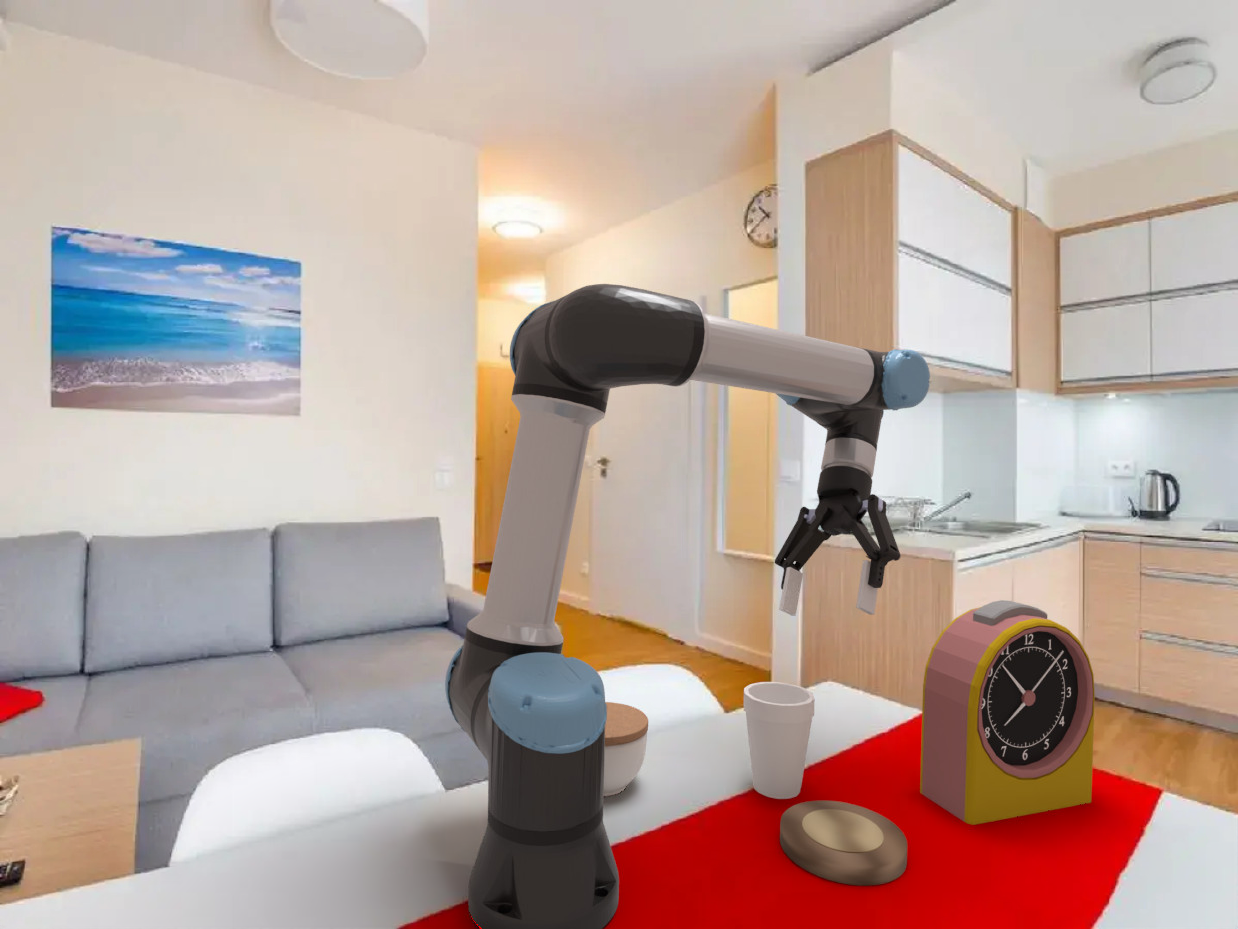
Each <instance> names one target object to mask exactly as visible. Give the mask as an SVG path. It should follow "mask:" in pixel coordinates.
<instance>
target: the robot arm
mask: <svg viewBox="0 0 1238 929" xmlns="http://www.w3.org/2000/svg"><path fill="white" fill-rule="evenodd" d="M509 362H510V367H511V370H512V373H513V374H514V376H515V377H514V381H513V382H514V383H513V387H512V391H511V392H512V393H511V396H510V399H511V401H512V403H513V405H514V406H515V407H516V409H517V411H518V412H519V414H520V418H519V423H518V428H517V431H516V432H517V434H516V438H515V442H514V443H515V444H514V448H513V453H512V459H511V464H510V470H509V475H508V479H507V485H506V490H505V496H504V500H503V501H504V502H503V505H502V510H501V515H500V516H501V517H500V521H499V527H498V532H497V537H496V542H495V545H494V546H495V548H494V552H493V558H492V564H491V568H490V573H489V578H488V583H487V589H486V593H485V599H484V603H483V609H482V611H481V612H480V613H478V614H477V615H476V616H474V617H473V618H471V619H470V620H468V621H467V624H466V629H465V633H464V639H463V643H462V646H461V647H458V649H457V650H456V651H455V652H454V654H453V656H452V658H451V659H450V662H449V664H448V667H447V671H446V674H445V680H444V685H445V686H444V689H445V696H446V700H447V703H448V705H449V709H450V711H451V715H452V716H453V719H454V720H455V722H456V723H457V724H458V725H459V726H460V728H461V729H462V730H463V732H465V733H466V735H468V737H469V738H470V740H471V741H472V742H473V743H474V745H475V746H476V748H477V749H478V751H480V753H481V754H482V755H483V757H484V758H485V759H486V761H487V767H488V776H487V778H488V780H487V782H488V783H487V784H488V785H487V786H488V787H487V790H488V791H487V792H488V793H487V794H488V795H487V824H486V828H485V831H484V834H483V837H482V840H481V843H480V845H479V849H478V852H477V855H476V857H475V860H474V863H473V866H472V870H471V873H470V876H469V880H468V899H467V900H468V901H467V902H468V903H467V904H468V906H469V907H468V913H469V912H470V913H469V915H470V914H471V916H472V918H473V920H474V921H475V922H476V924H478V926H480V927H481V928H482V929H603V928H605V927H606V925H607V924H609V922H610V921H611V920H612V918H613V917H614V915H615V914H616V911H617V909H618V905H619V900H620V899H619V894H620V887H619V885H620V877H619V870H618V867H617V864H616V860H615V857H614V853H613V850H612V847H611V844H610V840H609V837H608V832H607V830H606V827H605V823H604V797H603V793H604V755H605V725H606V719H607V706H606V703H605V702H606V692H605V685H604V682H603V679H602V677H601V675H600V674H599V673H598V671H597V670H596V669H595V668H594V667H593V666H591V665H590V664H589V663H587V662H585V661H583V660H581V659H578V658H576V657H573V656H570V657H565V654H562V650H563V645H564V636H563V635H562V633H561V632H560V630H559V628H558V627H557V626H556V623H555V617H556V612H557V607H558V603H559V602H558V601H559V596H560V592H561V585H562V580H563V576H564V571H565V570H564V569H565V565H566V558H567V553H568V549H569V543H570V537H571V532H572V526H573V522H574V517H575V511H576V505H577V501H578V500H577V499H578V495H579V489H580V486H581V485H580V484H581V479H582V473H583V468H584V463H585V458H586V453H587V452H586V451H587V447H588V440H589V435H590V430H591V429H592V427H593V426H595V425H596V424H598V423H599V422H600V421H601V420H603V419H604V418H605V416H606V411H607V406H608V401H609V395H610V392H611V391H610V390H611V389H614V388H616V389H617V388H621V387H629V386H639V385H662V386H663V385H664V386H670V387H677V388H678V387H681V386H684V385H686V384H687V383H688V382H689V381H695V382H701V383H707V384H708V383H709V384H713V385H714V384H715V385H721V386H727V387H733V388H738V389H739V388H741V389H747V390H753V391H759V392H766V393H771V394H775V395H776V396H778V397H779V398H780V399H781V400H783V401H784V402H785V403H786V404H787V405H788V406H790V407H793V408H794V409H796V410H797V411H798V412H800V413H801V414H803V415H805V416H806V417H808V418H809V419H811V420H812V421H814V422H816V424H818V425H820V426H821V427H822V428H824V429H826V436H825V444H824V451H823V456H822V462H821V465H820V470H821V471H820V473H819V478H818V482H817V490H816V493H817V497H818V503H817V506H816V508H810V509H809V507H806V506H802V507H801V508H800V509H799V514H798V517H797V520H796V521H795V524H794V526H793V527H792V529H791V531H790V533H789V534H788V536H787V538H786V539H785V541H784V543H783V544H782V547H781V549H780V550H779V552H778V554H777V555H776V557H775V560H774V564H775V565H777V566H779V567H781V568H782V569H783V572H782V573H783V574H782V580H781V584H780V588H781V590H782V592H781V598H780V602H779V607H778V610H780V611H782V612H783V613H786V614H787V615H789V616H795V617H796V615H797V610H798V609H797V608H798V605H799V604H798V603H799V598H800V593H801V588H802V581H803V577H804V576H803V575H804V573H803V572H801V569H803V567H804V566H805V565H806V563H807V562H808V561H809V560H810V558H811V557H812V556H813V554H815V552H816V551H817V550H818V549H819V547H820V546H821V545H822V544H823V542H825V541H828V540H829V539H830V538H831V537H836V536H839V535H841V534H843V535H851V533H852V535H853V536H854V538H855V539H856V540H857V542H858V544H859V545H860V546H861V549H862V550H863V551H864V553H865V554H866V555H865V557H866V558H867V559H865V560H862V565H861V570H860V571H861V572H860V577H859V578H860V579H859V587H858V592H857V599H856V606H855V608H857V609H858V610H860V611H861V612H864V613H865V614H867V615H873V616H874V615H875V612H876V606H877V605H876V604H877V598H878V597H877V596H878V590H879V589H881V588H882V586H883V585H884V584H883V583H884V576H885V569H886V568H885V567H886V566H887V565H888V563H890V562H891V561H892V562H893V561H894V562H895V561H899V560H900V558H901V553H900V552H901V551H900V550H899V546H898V544H897V541H896V538H895V536H894V533H893V531H892V528H891V525H890V524H891V523H890V522H889V518H888V516H887V502H886V501H885V500H883V499H882V498H880V497H879V496H877V495H876V494H874V493H871V492H872V487H873V479H872V478H873V476H874V472H875V466H876V465H875V464H876V463H875V462H876V457H877V450H878V442H879V436H880V430H881V423H882V419H883V417H884V412H885V411H887V410H889V411H890V410H892V411H898V410H901V409H909V408H914V407H916V406H918V405H920V404H921V403H922V402H923V401H924V399H925V398H926V397H927V395H928V392H929V389H930V378H931V373H930V368H929V365H928V363H927V361H926V360H925V358H924V356H923V355H921V354H920V353H919V352H917V351H915V350H912V349H892V350H890V351H877V350H873V349H872V350H871V349H867V348H861V347H855V346H851V345H847V344H843V343H839V342H835V341H830V340H825V339H821V338H816V337H811V336H808V335H803V334H799V333H794V332H789V331H785V330H780V329H777V328H773V327H767V326H764V325H758V324H754V323H749V322H745V321H740V320H736V319H733V318H727V317H723V316H718V315H714V314H710V313H706V312H704V310H703V308H702V307H701V305H699V303H698V302H696V301H694V300H691V299H687V298H682V297H678V296H674V295H669V294H665V293H661V292H657V291H652V290H647V289H643V288H637V287H634V286H633V287H631V286H628V285H621V284H612V283H611V284H609V283H598V284H597V283H596V284H591V285H589V284H588V285H585V286H582V287H580V288H576V289H575V290H573V291H571V292H570V293H568V294H565V295H564V296H561V297H560V298H557V299H556V300H552V301H549V302H547V303H546V302H545V303H544V304H541V305H539V306H537V307H536V308H535V309H534V310H533V309H532V311H531V312H529V313H528V315H527V316H526V317H525V318H524V319H523V320H521V322H520V323H519V325H517V327H516V328H515V331H514V332H513V335H512V338H511V341H510V345H509ZM884 410H885V411H884ZM866 514H868V516H869V519H870V522H871V526H872V529H873V532H874V534H875V537H876V540H875V539H874V538H873V536H872V534H870V532H869V529H868V527H867V526H866V525H865V523H864V522H863V518H864V517H865V515H866ZM820 528H821V529H820ZM868 559H869V560H868ZM471 916H470V917H471Z"/></svg>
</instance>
